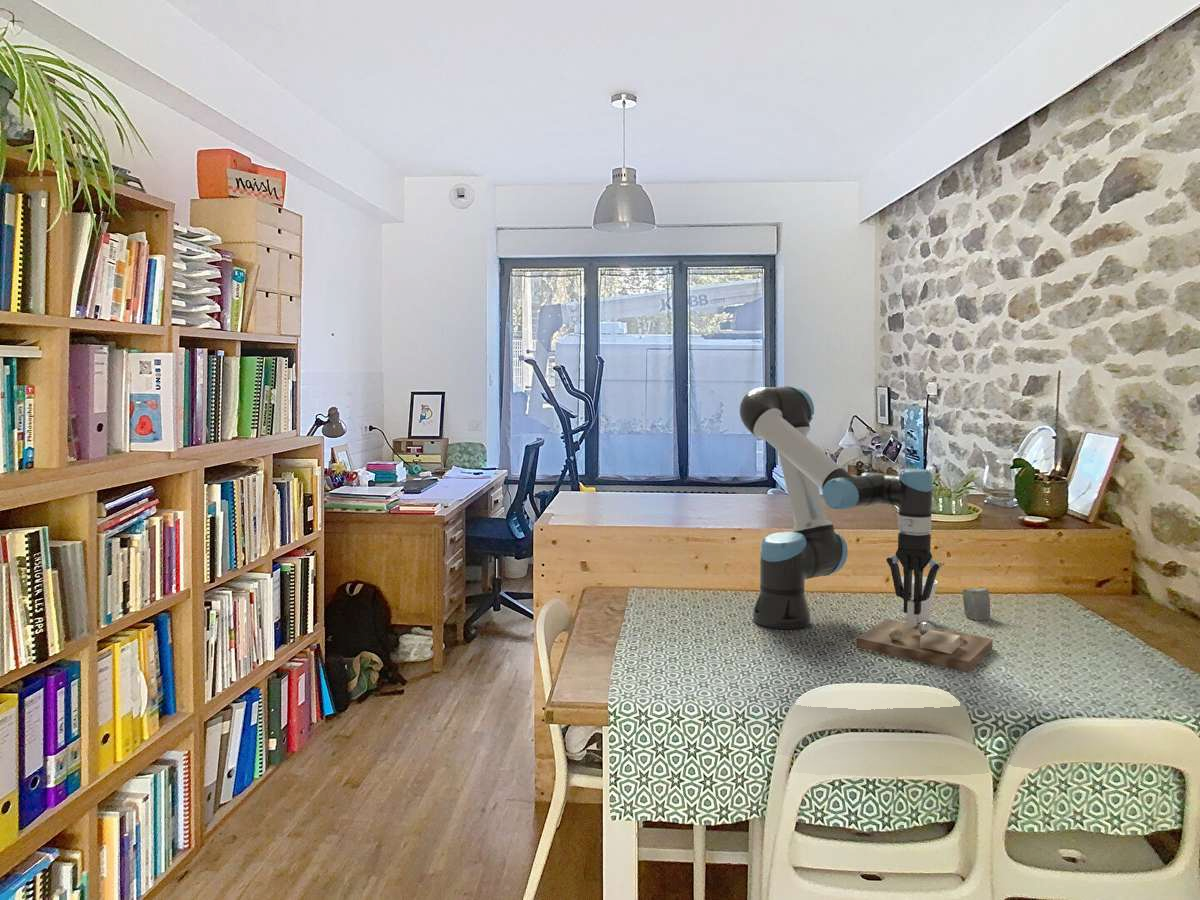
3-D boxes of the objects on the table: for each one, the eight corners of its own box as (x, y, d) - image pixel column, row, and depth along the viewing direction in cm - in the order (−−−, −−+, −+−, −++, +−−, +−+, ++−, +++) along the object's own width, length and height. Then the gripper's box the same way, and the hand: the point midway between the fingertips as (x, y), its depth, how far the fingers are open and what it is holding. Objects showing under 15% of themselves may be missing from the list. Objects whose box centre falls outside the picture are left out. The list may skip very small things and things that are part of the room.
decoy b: (904, 625, 213) (904, 613, 213) (908, 622, 216) (908, 610, 215) (916, 627, 212) (916, 615, 211) (919, 624, 214) (920, 613, 214)
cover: (919, 647, 196) (920, 637, 195) (929, 639, 201) (929, 629, 201) (950, 653, 191) (951, 643, 191) (959, 645, 197) (960, 635, 196)
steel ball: (932, 636, 202) (918, 639, 204) (937, 633, 204) (923, 635, 207) (928, 622, 202) (914, 625, 204) (933, 619, 205) (919, 621, 207)
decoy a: (886, 640, 201) (887, 628, 201) (891, 637, 203) (891, 625, 203) (899, 643, 199) (899, 631, 199) (903, 640, 202) (904, 628, 201)
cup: (939, 626, 220) (941, 586, 219) (900, 624, 222) (901, 583, 221) (932, 615, 230) (934, 576, 229) (894, 613, 232) (896, 574, 231)
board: (856, 647, 204) (856, 637, 203) (885, 627, 219) (886, 618, 219) (968, 672, 187) (969, 661, 187) (992, 649, 203) (992, 639, 203)
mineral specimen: (997, 614, 229) (996, 587, 227) (979, 626, 225) (978, 598, 223) (972, 606, 235) (971, 580, 233) (954, 618, 231) (953, 591, 229)
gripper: (882, 531, 206) (880, 625, 208) (937, 537, 197) (933, 635, 200) (893, 527, 211) (890, 618, 214) (946, 533, 203) (943, 627, 205)
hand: (911, 626), depth 207 cm, fingers closed
